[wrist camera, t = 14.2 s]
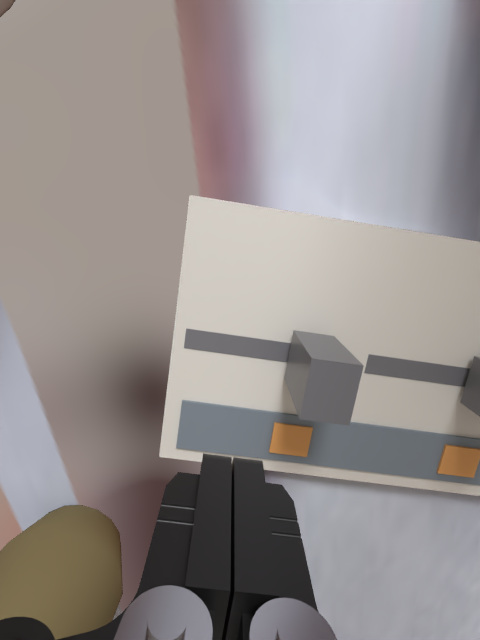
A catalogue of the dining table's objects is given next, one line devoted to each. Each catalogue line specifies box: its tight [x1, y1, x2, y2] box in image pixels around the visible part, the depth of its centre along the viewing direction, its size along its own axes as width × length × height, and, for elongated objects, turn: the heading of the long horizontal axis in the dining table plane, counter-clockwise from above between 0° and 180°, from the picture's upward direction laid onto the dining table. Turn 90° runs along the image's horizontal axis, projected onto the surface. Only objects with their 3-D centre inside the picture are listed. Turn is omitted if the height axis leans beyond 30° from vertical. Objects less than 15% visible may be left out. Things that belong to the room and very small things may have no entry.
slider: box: [284, 330, 364, 426], centre depth 19 cm, size 3×2×5 cm
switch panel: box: [159, 195, 480, 496], centre depth 23 cm, size 16×32×2 cm, turn 81°
